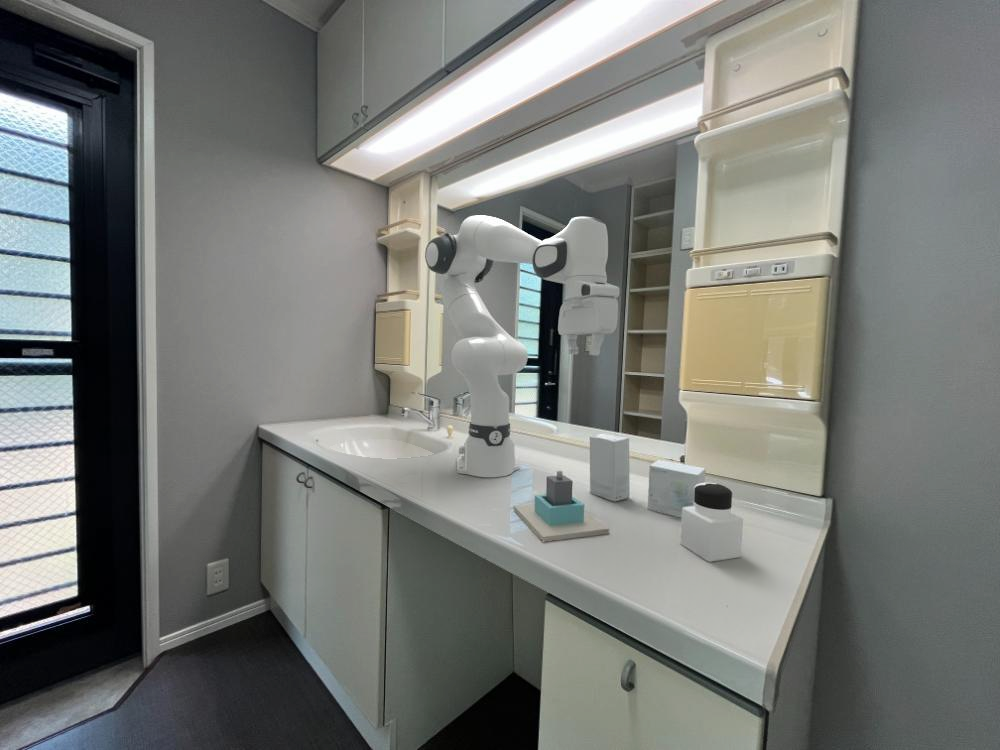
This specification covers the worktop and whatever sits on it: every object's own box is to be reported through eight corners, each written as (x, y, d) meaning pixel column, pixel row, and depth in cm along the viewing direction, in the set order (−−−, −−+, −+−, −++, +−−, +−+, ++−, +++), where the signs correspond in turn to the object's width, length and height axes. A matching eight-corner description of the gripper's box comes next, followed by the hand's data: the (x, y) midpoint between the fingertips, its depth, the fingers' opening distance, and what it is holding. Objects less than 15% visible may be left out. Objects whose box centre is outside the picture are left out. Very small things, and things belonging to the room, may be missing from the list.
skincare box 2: (646, 509, 94) (648, 464, 94) (656, 502, 99) (658, 458, 99) (695, 522, 88) (698, 473, 87) (703, 513, 92) (706, 467, 92)
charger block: (545, 513, 88) (546, 469, 87) (562, 511, 89) (564, 468, 89) (553, 520, 84) (555, 475, 84) (571, 518, 85) (572, 473, 85)
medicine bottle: (741, 557, 73) (745, 490, 72) (708, 563, 71) (712, 493, 70) (710, 539, 79) (713, 478, 79) (679, 544, 77) (682, 480, 77)
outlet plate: (513, 510, 92) (514, 490, 92) (570, 504, 96) (571, 485, 96) (542, 542, 77) (543, 518, 77) (608, 533, 81) (609, 511, 81)
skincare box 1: (629, 498, 101) (632, 438, 100) (612, 503, 98) (615, 440, 97) (603, 488, 108) (605, 432, 107) (587, 492, 105) (589, 434, 104)
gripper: (552, 296, 101) (550, 353, 101) (597, 284, 81) (594, 355, 82) (576, 298, 103) (573, 354, 103) (624, 287, 83) (621, 356, 84)
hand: (583, 354), depth 93 cm, fingers open, 8 cm apart
